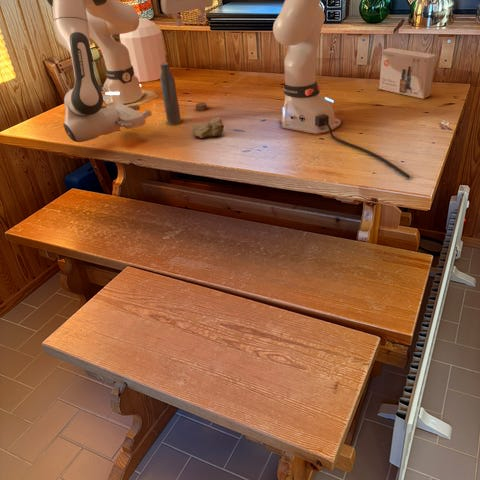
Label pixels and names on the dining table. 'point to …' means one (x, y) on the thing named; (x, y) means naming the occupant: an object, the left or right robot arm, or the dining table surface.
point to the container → (145, 50)
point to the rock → (209, 128)
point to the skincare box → (407, 72)
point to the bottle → (169, 95)
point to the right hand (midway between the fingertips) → (190, 23)
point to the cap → (201, 106)
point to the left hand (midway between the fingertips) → (144, 109)
